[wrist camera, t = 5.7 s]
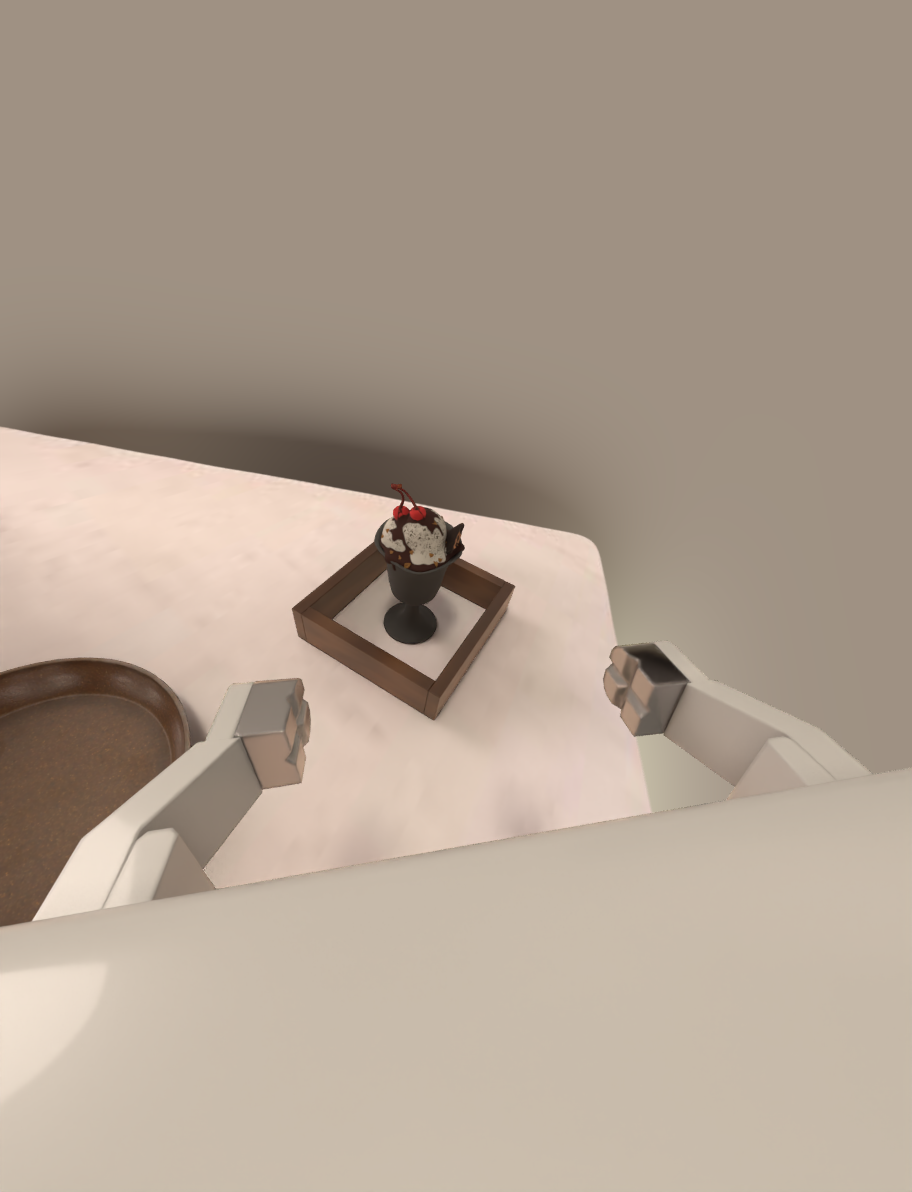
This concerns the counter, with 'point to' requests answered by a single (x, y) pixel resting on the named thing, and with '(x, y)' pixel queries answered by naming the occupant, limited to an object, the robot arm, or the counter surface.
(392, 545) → the sundae
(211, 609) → the counter surface
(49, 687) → the plant saucer
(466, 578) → the brown wooden square frame
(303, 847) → the counter surface
